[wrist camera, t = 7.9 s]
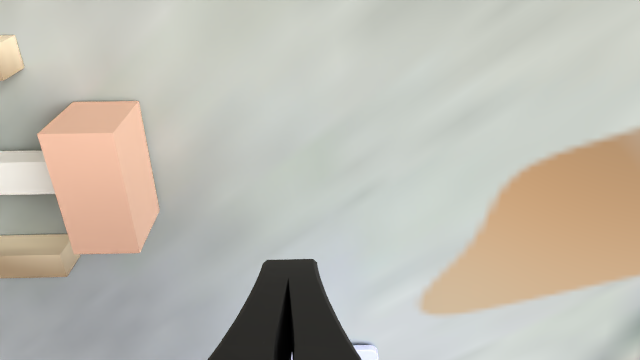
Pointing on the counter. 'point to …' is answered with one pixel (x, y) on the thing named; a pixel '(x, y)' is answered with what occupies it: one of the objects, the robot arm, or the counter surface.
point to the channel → (30, 250)
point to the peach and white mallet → (91, 175)
